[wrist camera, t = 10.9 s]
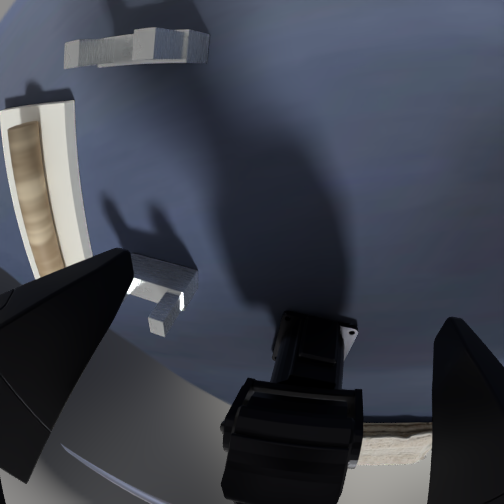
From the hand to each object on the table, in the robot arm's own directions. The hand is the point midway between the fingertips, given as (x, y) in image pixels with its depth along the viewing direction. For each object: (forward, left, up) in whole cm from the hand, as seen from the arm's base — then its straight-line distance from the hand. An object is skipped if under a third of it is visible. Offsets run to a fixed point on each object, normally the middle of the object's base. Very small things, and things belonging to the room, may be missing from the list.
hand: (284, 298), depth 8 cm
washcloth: (-34, -17, -14) cm, 41 cm away
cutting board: (-10, +25, -13) cm, 30 cm away
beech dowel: (-10, +24, -10) cm, 28 cm away
